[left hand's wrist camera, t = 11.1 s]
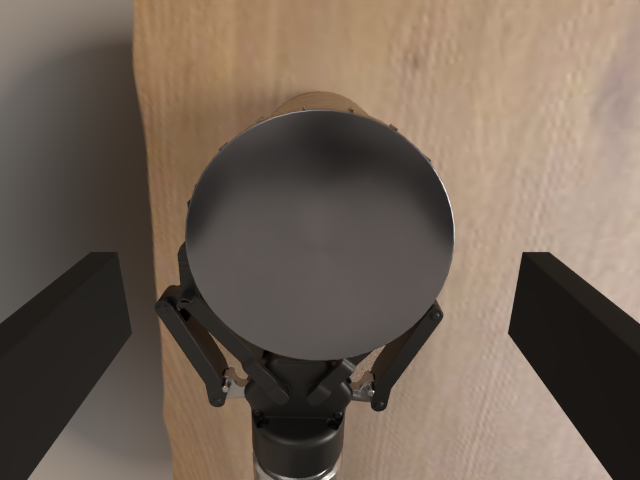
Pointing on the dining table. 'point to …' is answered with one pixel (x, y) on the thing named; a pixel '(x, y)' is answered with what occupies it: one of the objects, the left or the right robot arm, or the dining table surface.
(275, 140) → the lid
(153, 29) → the dining table surface
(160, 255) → the dining table surface
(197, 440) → the dining table surface
